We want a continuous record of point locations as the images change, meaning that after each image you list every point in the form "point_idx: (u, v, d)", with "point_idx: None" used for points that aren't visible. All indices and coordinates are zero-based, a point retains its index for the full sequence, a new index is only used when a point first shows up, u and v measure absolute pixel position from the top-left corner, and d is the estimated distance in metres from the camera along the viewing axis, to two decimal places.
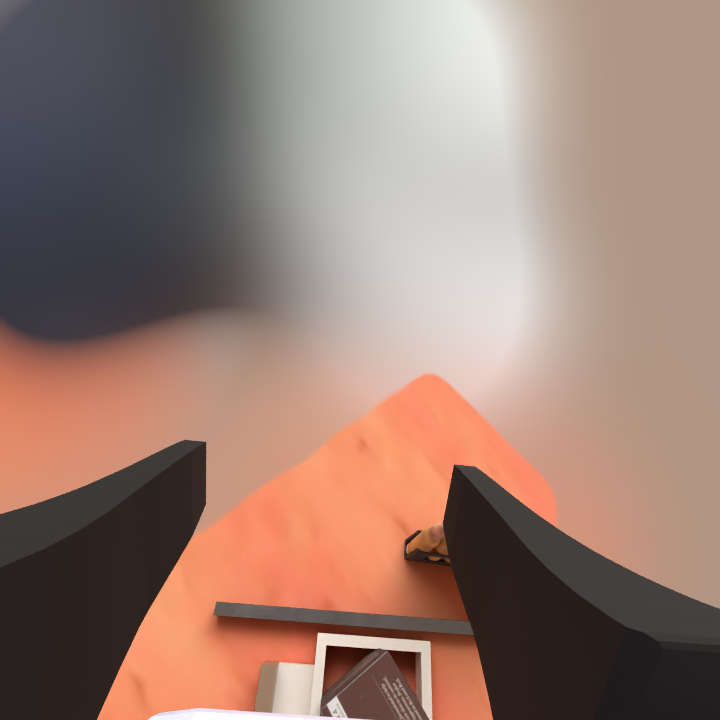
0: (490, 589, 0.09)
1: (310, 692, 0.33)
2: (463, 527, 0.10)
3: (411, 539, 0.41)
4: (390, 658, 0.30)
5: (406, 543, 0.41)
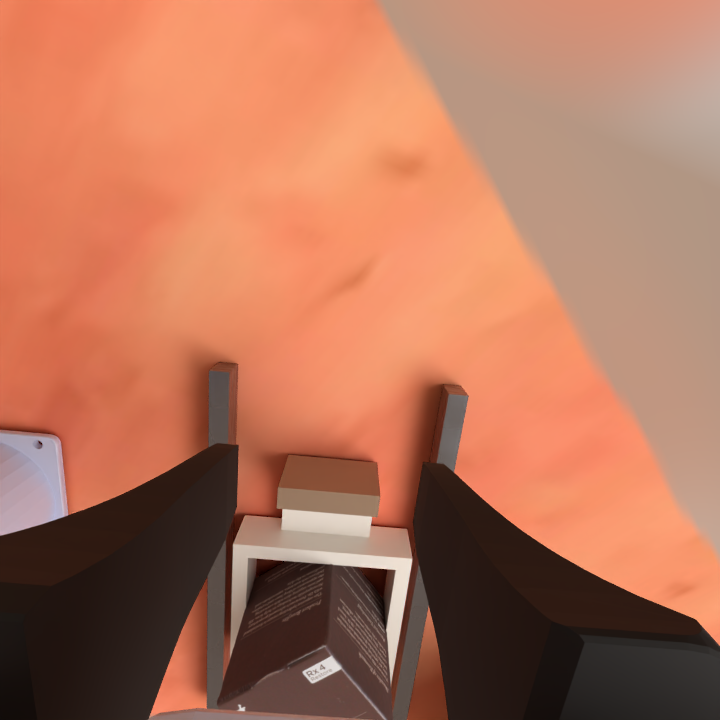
0: (449, 586, 0.09)
1: (338, 532, 0.23)
2: (428, 524, 0.10)
3: None
4: None
5: None
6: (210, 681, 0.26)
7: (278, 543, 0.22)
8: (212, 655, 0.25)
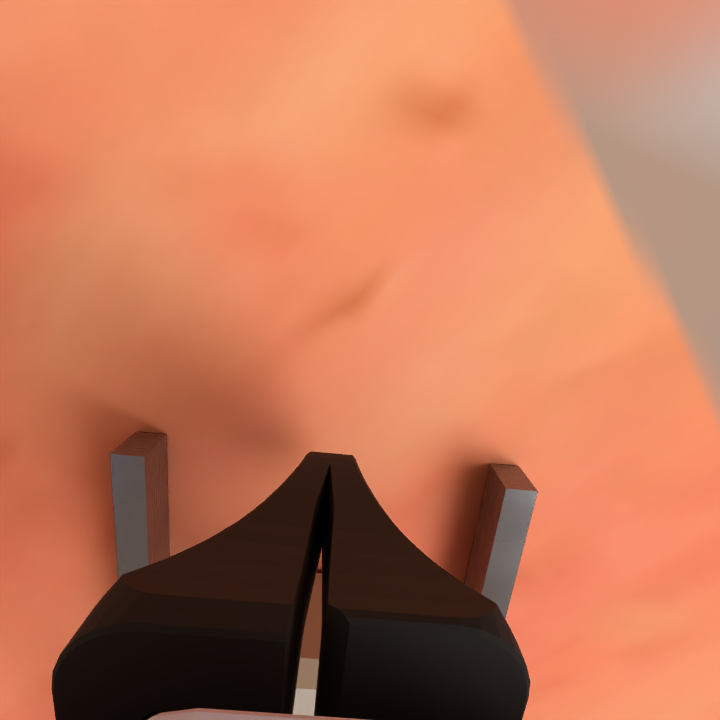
0: (326, 576, 0.09)
1: None
2: (326, 515, 0.10)
3: None
4: None
5: None
6: None
7: None
8: None
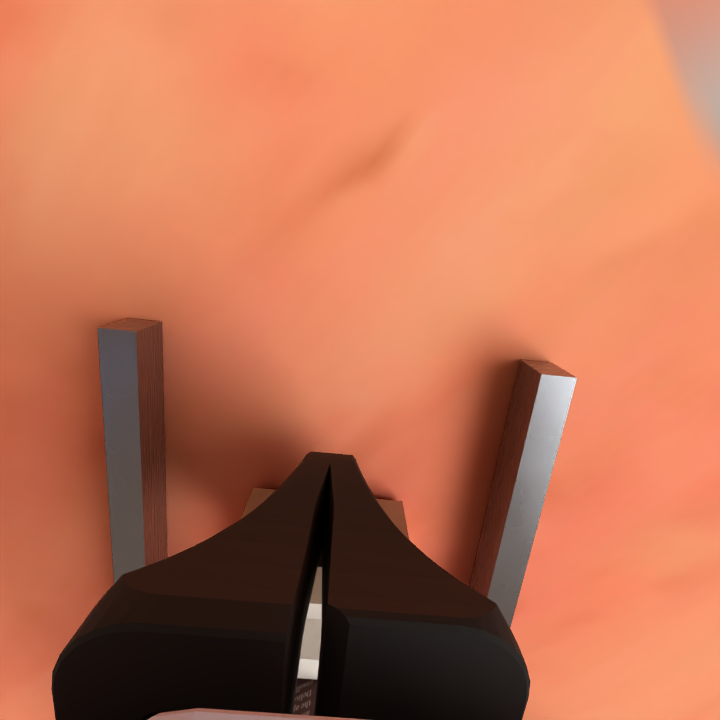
0: (326, 576, 0.09)
1: None
2: (326, 515, 0.10)
3: None
4: None
5: None
6: None
7: None
8: None
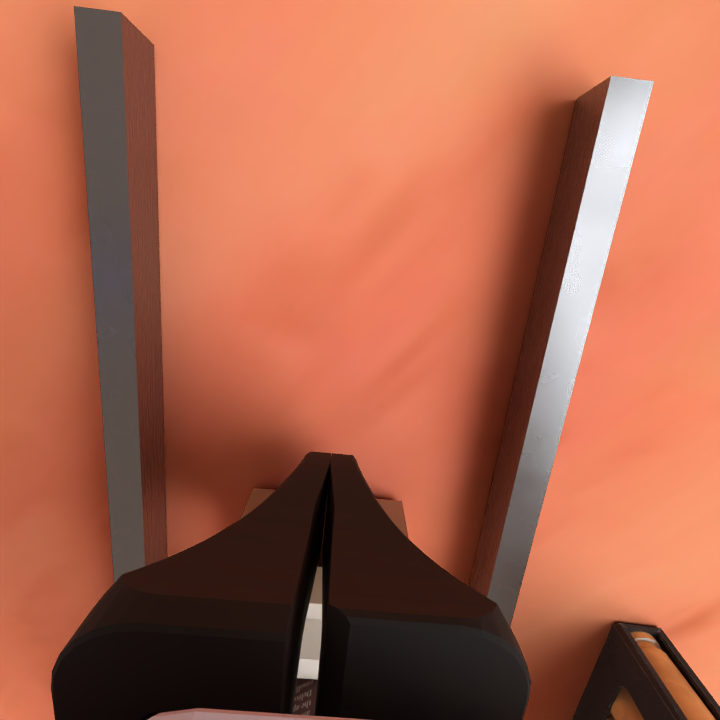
0: (326, 576, 0.09)
1: None
2: (326, 515, 0.10)
3: (673, 660, 0.15)
4: None
5: (654, 632, 0.15)
6: None
7: None
8: None
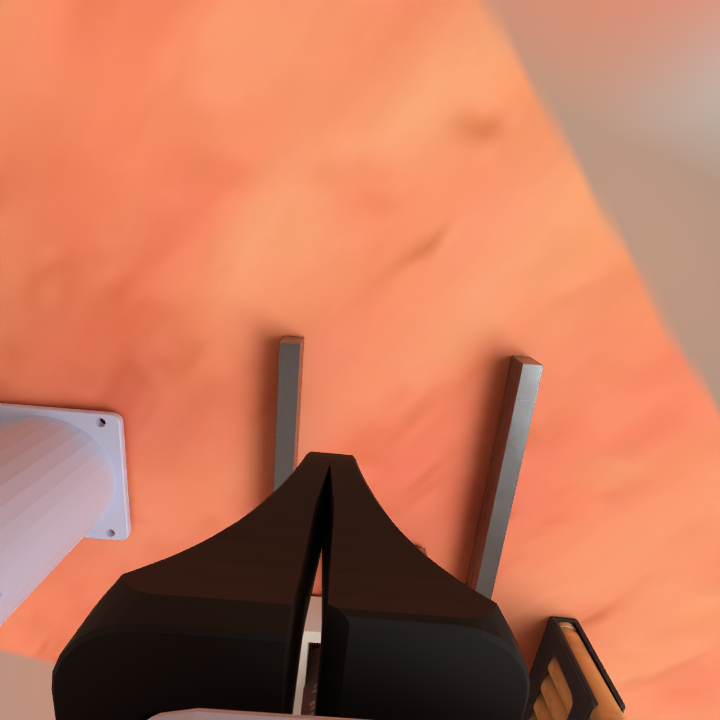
0: (326, 575, 0.09)
1: None
2: (326, 515, 0.10)
3: (582, 638, 0.26)
4: None
5: (573, 622, 0.26)
6: None
7: None
8: None
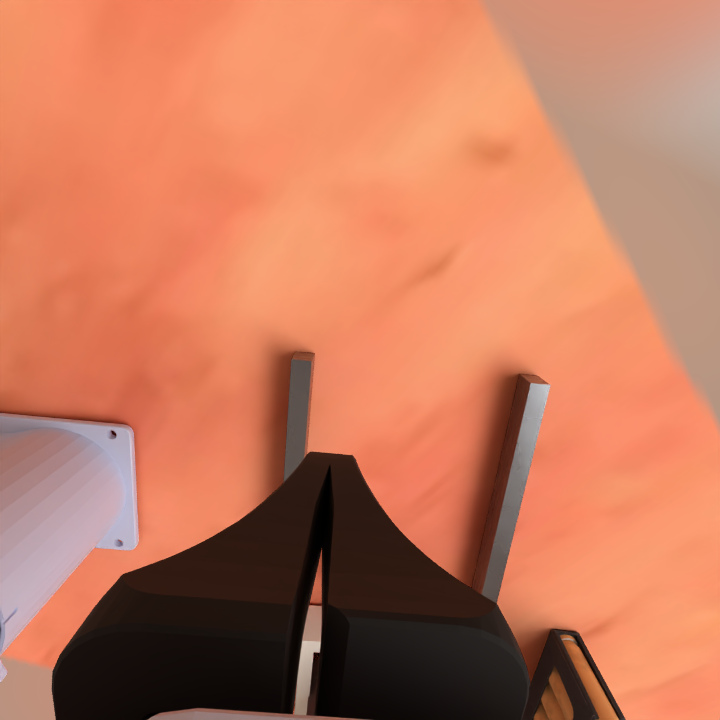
0: (326, 576, 0.09)
1: None
2: (326, 515, 0.10)
3: (583, 651, 0.26)
4: None
5: (574, 635, 0.26)
6: None
7: None
8: None
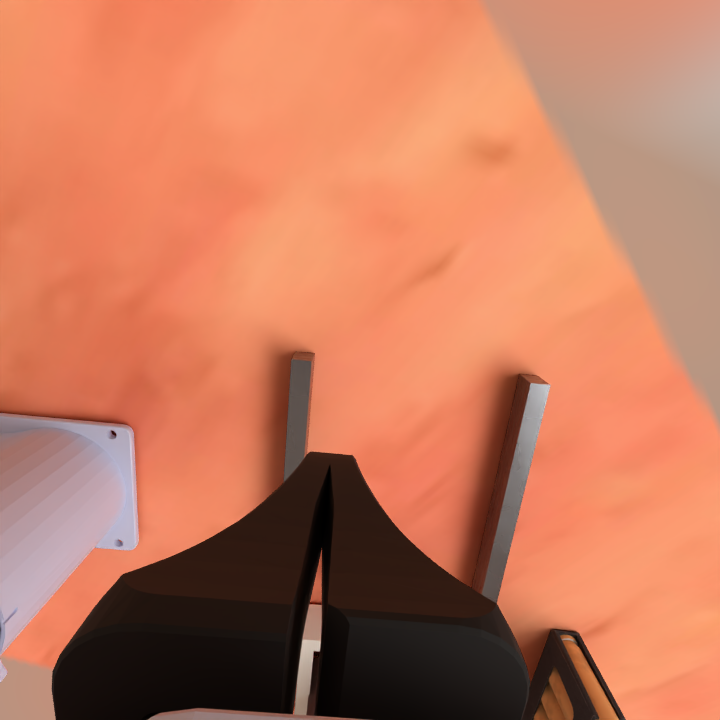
0: (326, 576, 0.09)
1: None
2: (326, 515, 0.10)
3: (583, 651, 0.26)
4: None
5: (574, 635, 0.26)
6: None
7: None
8: None
